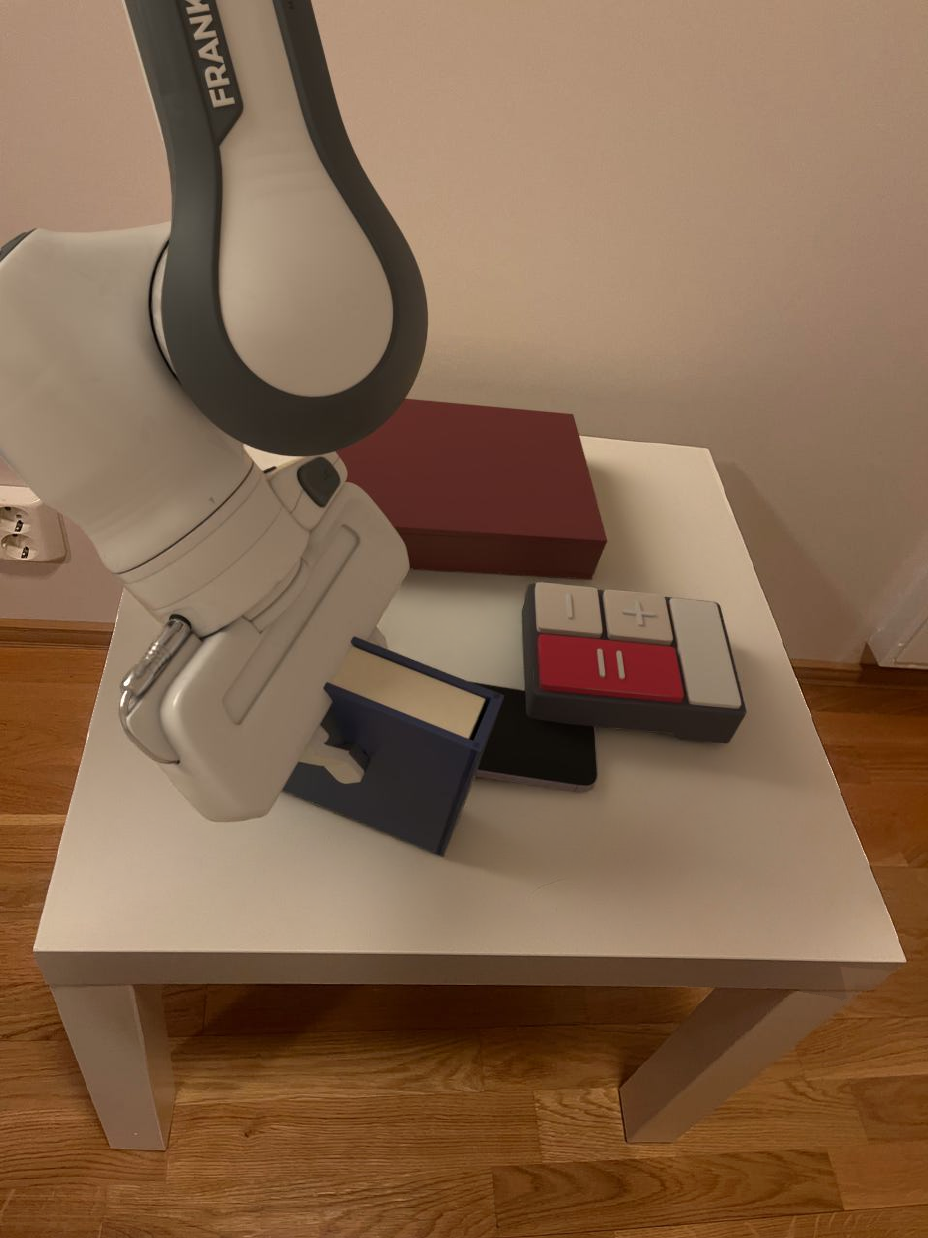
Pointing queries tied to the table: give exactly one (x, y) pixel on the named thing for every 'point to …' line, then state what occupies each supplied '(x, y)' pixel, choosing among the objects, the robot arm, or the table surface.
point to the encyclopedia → (483, 489)
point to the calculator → (629, 662)
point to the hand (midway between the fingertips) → (376, 736)
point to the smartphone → (537, 748)
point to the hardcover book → (402, 745)
